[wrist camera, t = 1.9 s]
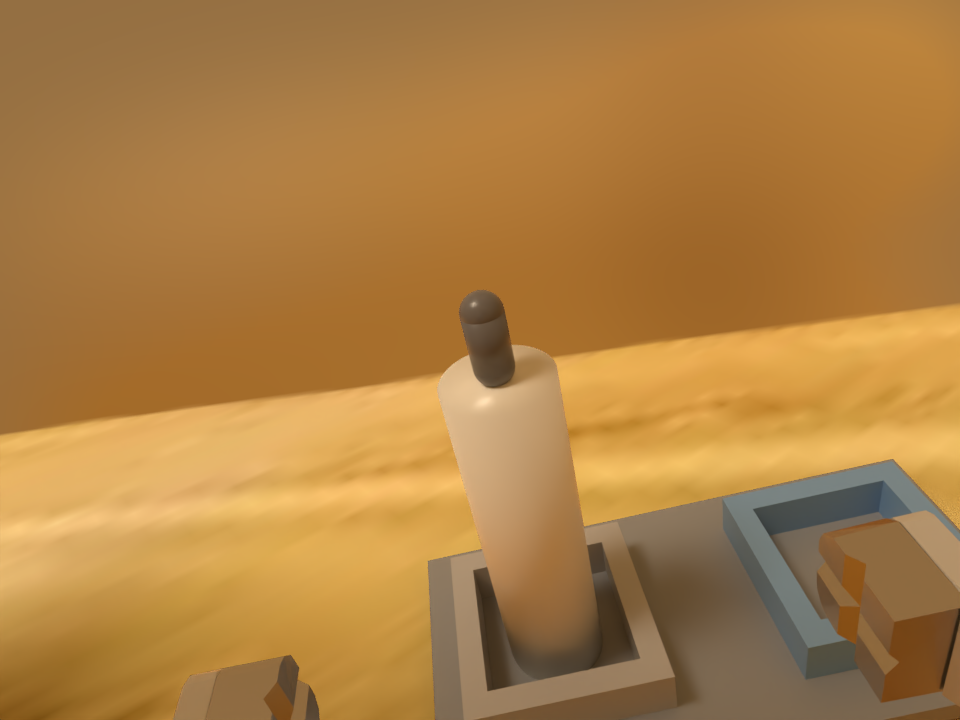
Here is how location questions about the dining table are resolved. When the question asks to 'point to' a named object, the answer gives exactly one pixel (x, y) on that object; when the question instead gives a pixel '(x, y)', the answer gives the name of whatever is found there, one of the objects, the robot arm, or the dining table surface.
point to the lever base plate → (690, 615)
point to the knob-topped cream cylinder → (522, 492)
